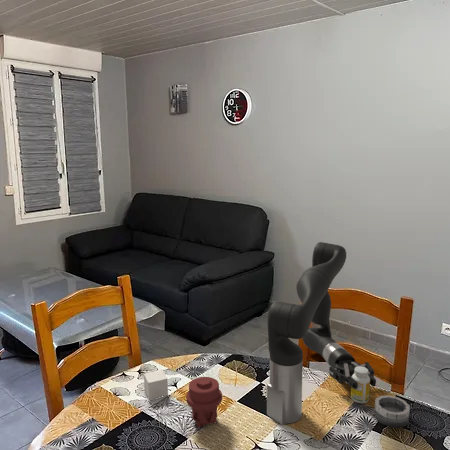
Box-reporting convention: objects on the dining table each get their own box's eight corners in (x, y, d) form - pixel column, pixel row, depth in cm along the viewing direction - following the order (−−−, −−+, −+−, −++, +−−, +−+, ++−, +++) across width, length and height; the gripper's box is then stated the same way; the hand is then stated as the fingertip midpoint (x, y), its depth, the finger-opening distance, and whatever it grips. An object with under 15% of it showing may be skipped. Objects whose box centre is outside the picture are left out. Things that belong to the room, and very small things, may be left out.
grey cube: (149, 401, 129) (148, 383, 128) (144, 391, 134) (143, 373, 133) (168, 396, 131) (167, 378, 130) (162, 386, 137) (162, 369, 136)
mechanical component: (193, 436, 112) (182, 415, 121) (228, 426, 116) (214, 406, 125) (192, 394, 110) (181, 376, 119) (227, 385, 114) (213, 368, 123)
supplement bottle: (354, 404, 125) (356, 374, 124) (348, 394, 131) (349, 365, 129) (372, 403, 126) (373, 373, 124) (364, 393, 131) (366, 364, 130)
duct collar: (397, 432, 113) (398, 418, 112) (368, 416, 120) (368, 403, 119) (414, 419, 118) (415, 406, 118) (385, 404, 125) (386, 391, 125)
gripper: (318, 350, 139) (343, 376, 123) (358, 345, 142) (387, 370, 126) (318, 371, 140) (343, 400, 124) (357, 365, 143) (386, 393, 127)
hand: (365, 384), depth 125 cm, fingers closed on supplement bottle, 5 cm apart
